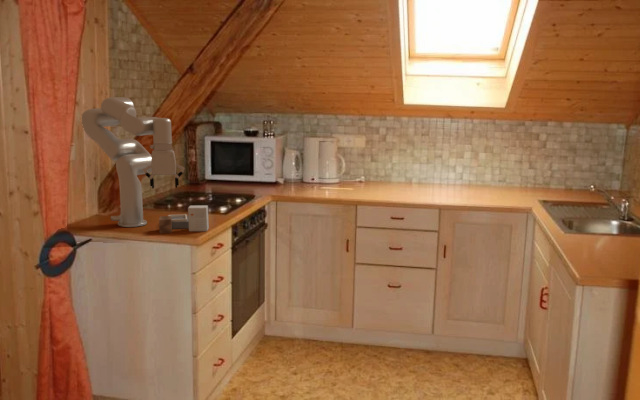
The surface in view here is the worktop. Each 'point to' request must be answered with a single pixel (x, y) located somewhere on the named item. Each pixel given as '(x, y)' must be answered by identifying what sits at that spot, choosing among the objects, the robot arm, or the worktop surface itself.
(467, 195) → the worktop surface
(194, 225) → the small box
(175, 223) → the grey open tray
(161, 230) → the walnut brick
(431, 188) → the worktop surface
